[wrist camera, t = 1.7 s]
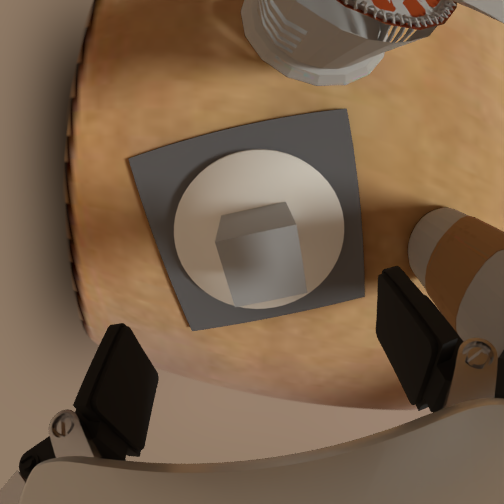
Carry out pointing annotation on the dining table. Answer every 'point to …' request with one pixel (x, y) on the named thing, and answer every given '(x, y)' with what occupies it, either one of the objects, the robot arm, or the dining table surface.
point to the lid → (258, 229)
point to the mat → (245, 138)
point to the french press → (342, 32)
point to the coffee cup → (462, 272)
